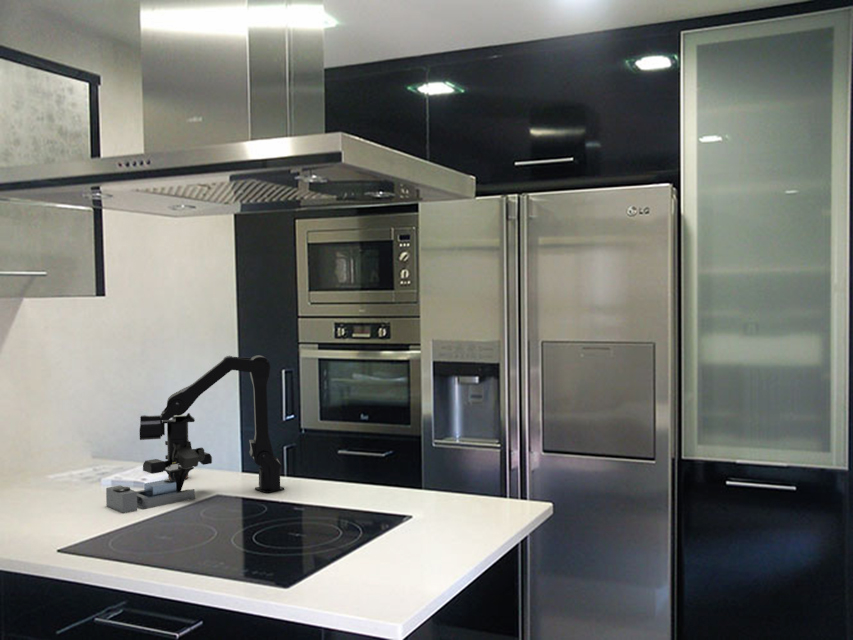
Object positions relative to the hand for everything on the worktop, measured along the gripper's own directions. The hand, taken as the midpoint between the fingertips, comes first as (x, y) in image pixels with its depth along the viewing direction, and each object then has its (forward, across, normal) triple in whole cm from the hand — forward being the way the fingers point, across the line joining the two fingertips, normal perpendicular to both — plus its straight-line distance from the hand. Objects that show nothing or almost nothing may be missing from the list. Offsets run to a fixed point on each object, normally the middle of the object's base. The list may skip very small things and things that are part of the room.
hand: (178, 492), depth 226 cm
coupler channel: (+1, -8, 0) cm, 8 cm away
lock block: (+1, -6, 0) cm, 6 cm away
